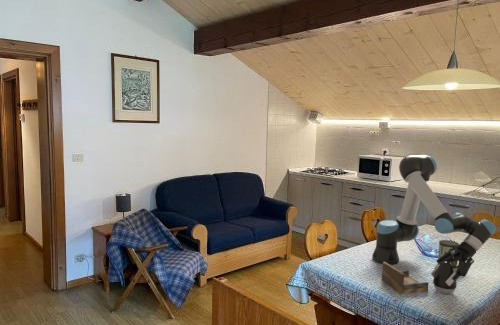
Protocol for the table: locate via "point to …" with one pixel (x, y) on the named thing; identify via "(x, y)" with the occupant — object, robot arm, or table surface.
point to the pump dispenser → (444, 278)
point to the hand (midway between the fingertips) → (439, 279)
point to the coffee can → (447, 249)
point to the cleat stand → (402, 280)
